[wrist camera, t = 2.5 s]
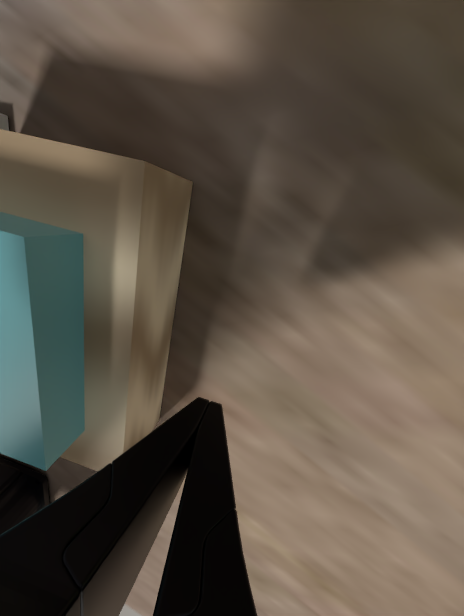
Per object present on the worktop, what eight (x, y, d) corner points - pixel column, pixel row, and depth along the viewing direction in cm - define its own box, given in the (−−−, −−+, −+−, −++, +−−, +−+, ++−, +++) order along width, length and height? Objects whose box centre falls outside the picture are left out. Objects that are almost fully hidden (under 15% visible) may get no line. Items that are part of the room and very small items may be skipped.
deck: (159, 419, 16) (121, 480, 12) (37, 378, 17) (-33, 422, 13) (193, 182, 11) (144, 161, 7) (15, 142, 12) (-110, 104, 8)
